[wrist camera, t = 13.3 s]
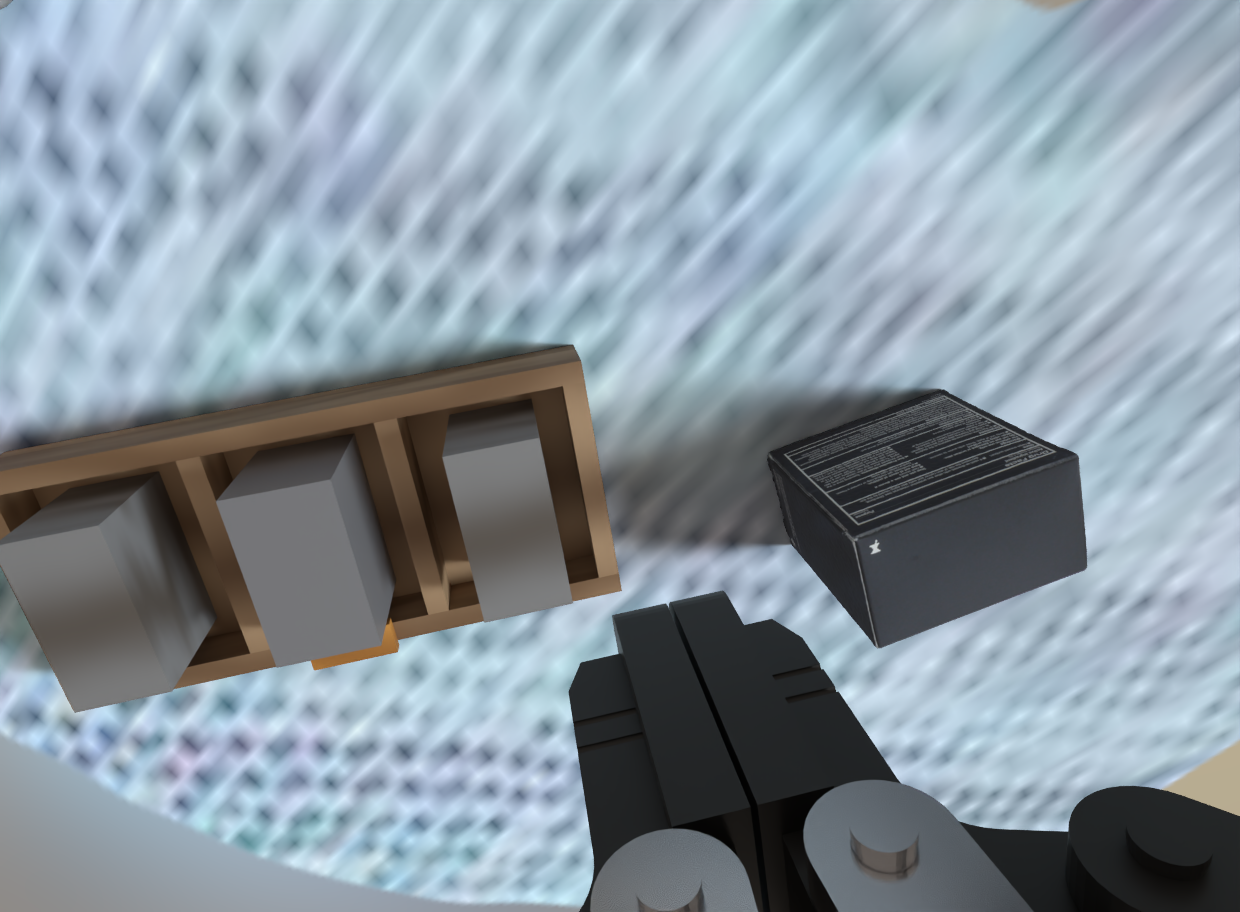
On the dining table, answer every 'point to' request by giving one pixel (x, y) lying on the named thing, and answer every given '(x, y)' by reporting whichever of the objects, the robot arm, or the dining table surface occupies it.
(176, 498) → the rack
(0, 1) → the cupcake
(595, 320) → the dining table surface
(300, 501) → the block
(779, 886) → the robot arm
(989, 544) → the small box
